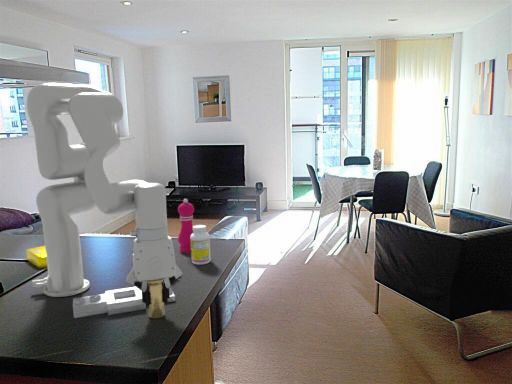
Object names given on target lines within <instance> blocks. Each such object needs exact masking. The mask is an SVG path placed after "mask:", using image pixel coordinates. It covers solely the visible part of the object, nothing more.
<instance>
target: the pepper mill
mask: <svg viewBox="0 0 512 384" xmlns="http://www.w3.org/2000/svg"><path fill="white" fill-rule="evenodd" d="M194 211H195V206H194V205H193V203H190V202H189V200H188V199H187V198H184V199H183V201H182V203H180V204H179V205H178V207H177V212H178V214H179V220H180V223H181V226H180V230H179V233H178V235H177V236H178V237H177V242H178V243H179V244H180V245H179V252H181V253H185V254H186V253H191V241H190V236H191V234H193V233H194V231H193V226H194V225H193V220H194V215H193V213H195V212H194Z"/></svg>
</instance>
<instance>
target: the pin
mask: <svg viewBox="0 0 512 384" xmlns="http://www.w3.org/2000/svg"><path fill="white" fill-rule="evenodd" d="M163 284H164V279H158V280H151V281H147V290H148V293H149V306H148V307H147V308H148V309H147V310H148V317H149V318H150V319H160V318H163V317H164V316H165V315H166V313H165V312H166V310H165V303H164V290H163Z"/></svg>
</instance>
